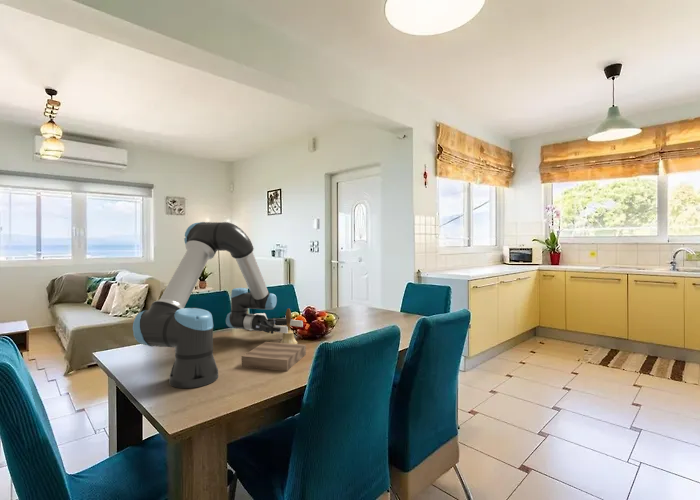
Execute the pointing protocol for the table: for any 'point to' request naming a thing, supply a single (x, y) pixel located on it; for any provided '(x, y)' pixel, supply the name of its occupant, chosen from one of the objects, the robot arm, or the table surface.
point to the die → (261, 314)
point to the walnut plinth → (274, 356)
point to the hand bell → (288, 336)
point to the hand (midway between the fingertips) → (295, 326)
